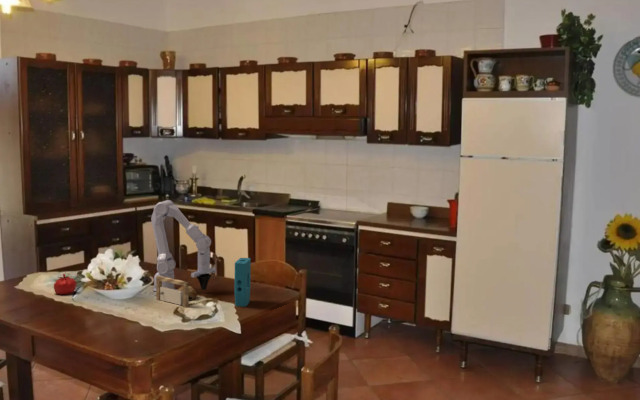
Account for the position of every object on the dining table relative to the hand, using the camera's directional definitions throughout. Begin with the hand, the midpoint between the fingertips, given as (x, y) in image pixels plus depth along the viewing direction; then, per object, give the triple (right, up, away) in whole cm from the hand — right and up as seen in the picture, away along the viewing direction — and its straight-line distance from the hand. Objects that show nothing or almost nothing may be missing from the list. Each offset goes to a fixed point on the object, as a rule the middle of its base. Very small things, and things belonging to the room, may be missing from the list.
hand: (203, 289), depth 292 cm
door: (-11, -3, -18) cm, 21 cm away
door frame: (-11, -4, -17) cm, 21 cm away
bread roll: (-7, -3, -9) cm, 12 cm away
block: (+21, -4, -16) cm, 27 cm away
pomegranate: (-65, -1, -5) cm, 65 cm away
